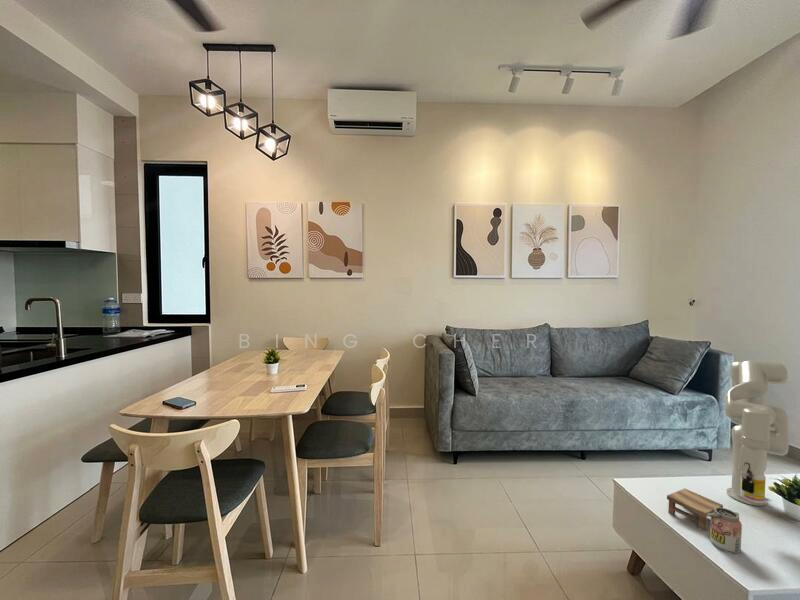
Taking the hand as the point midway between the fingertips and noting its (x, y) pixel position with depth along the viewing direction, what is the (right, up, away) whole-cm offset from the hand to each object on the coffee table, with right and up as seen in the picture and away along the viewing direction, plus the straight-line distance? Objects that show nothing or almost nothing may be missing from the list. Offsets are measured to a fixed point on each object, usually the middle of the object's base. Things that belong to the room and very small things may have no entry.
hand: (752, 488), depth 136 cm
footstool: (-15, -16, +8) cm, 23 cm away
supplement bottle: (0, -4, 0) cm, 4 cm away
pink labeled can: (-17, -16, -7) cm, 25 cm away
